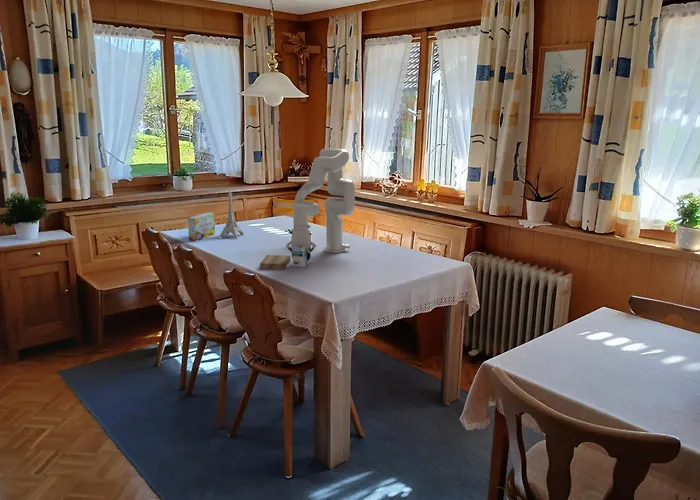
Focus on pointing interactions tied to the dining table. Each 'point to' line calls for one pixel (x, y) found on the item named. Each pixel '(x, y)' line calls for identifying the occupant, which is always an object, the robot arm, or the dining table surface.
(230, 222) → the eiffel tower
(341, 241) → the robot arm
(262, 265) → the podium
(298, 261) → the light bulb box
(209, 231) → the snack box
